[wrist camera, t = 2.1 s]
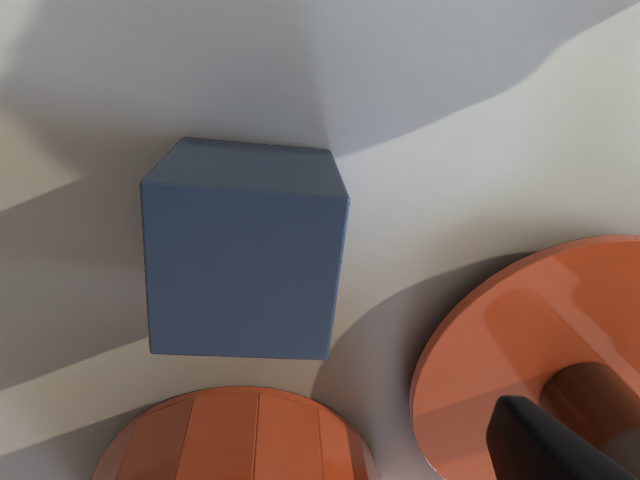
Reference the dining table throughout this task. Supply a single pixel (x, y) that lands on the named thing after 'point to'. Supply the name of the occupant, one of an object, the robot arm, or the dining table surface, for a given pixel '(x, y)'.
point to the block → (243, 249)
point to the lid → (537, 355)
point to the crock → (238, 440)
